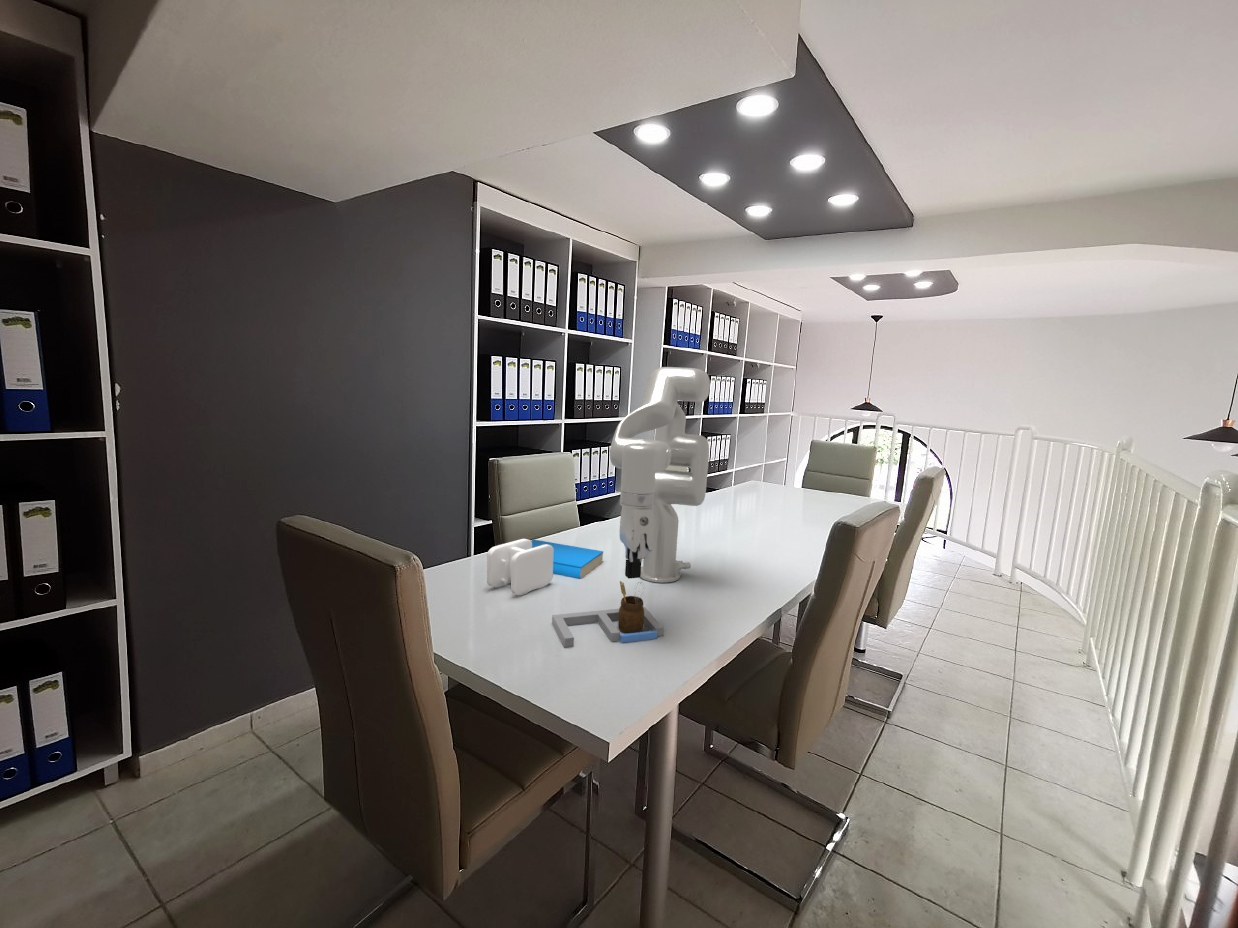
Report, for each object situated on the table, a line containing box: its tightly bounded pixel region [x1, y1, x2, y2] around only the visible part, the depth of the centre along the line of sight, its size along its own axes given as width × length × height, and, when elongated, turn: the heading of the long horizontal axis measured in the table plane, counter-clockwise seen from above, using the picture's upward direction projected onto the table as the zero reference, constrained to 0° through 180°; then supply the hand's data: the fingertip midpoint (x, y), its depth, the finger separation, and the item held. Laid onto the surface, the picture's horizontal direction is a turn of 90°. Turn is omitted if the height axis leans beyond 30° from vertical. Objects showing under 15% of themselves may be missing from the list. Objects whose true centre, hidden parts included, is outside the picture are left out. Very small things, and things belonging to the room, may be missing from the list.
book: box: [530, 539, 604, 580], centre depth 170 cm, size 17×4×25 cm
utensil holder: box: [617, 580, 646, 634], centre depth 128 cm, size 6×6×12 cm
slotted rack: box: [551, 605, 665, 648], centre depth 127 cm, size 23×13×2 cm, turn 110°
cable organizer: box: [486, 538, 554, 596], centre depth 150 cm, size 15×11×12 cm
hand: (632, 576), depth 127 cm, fingers closed
